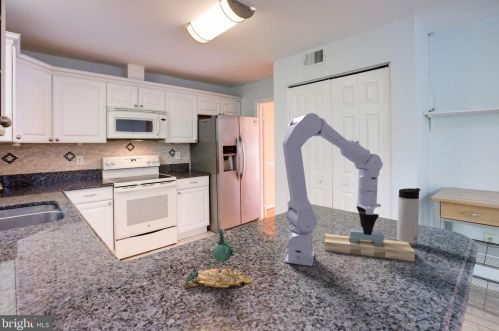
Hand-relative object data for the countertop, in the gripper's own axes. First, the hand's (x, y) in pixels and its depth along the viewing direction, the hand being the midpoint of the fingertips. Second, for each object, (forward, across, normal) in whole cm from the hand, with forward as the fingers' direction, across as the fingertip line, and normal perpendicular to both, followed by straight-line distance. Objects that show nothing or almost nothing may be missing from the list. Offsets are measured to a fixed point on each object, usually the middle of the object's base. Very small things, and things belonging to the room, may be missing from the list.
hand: (366, 230), depth 83 cm
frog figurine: (+8, -33, +38) cm, 51 cm away
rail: (+7, 0, 0) cm, 7 cm away
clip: (+7, 0, 0) cm, 7 cm away
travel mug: (+7, +12, -15) cm, 21 cm away
